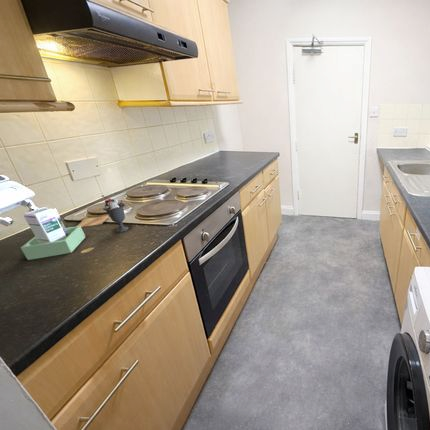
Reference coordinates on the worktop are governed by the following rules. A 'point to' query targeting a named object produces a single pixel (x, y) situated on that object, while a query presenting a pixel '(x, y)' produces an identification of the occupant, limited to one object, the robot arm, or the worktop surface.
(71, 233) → the green square tray
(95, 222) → the wooden mat
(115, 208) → the sundae
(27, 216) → the syrup box
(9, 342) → the worktop surface
